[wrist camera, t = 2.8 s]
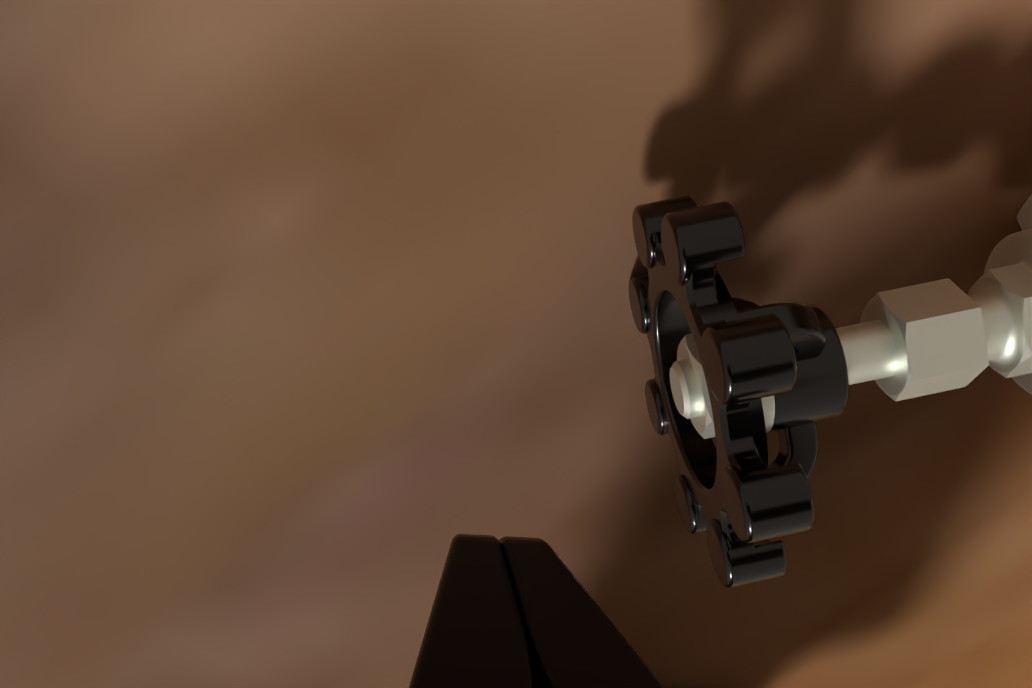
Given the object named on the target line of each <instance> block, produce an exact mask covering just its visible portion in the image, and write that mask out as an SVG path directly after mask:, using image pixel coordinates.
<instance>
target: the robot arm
mask: <svg viewBox="0 0 1032 688" xmlns="http://www.w3.org/2000/svg"><path fill="white" fill-rule="evenodd" d="M409 688H664V687H663V685H662V684H661V683H660V682H659V680H658V679H657V678H656V677H655V675H654V674H653V673H652V672H651V670H650V669H649V668H648V667H647V666H646V664H645V663H644V662H643V661H642V659H641V658H640V657H639V656H638V654H637V653H636V652H635V651H634V649H633V648H632V647H631V646H630V645H629V643H628V642H627V641H626V640H625V638H624V637H623V636H622V635H621V633H620V632H619V631H618V630H617V628H616V627H615V626H614V625H613V623H612V622H611V621H610V620H609V619H608V617H607V616H606V615H605V614H604V612H603V611H602V610H601V609H600V607H599V606H598V605H597V604H596V602H595V601H594V600H593V599H592V598H591V596H590V595H589V594H588V593H587V591H586V590H585V589H584V588H583V586H582V585H581V584H580V583H579V581H578V580H577V579H576V578H575V576H574V575H573V574H572V573H571V572H570V570H569V569H568V568H567V567H566V565H565V564H564V563H563V562H562V560H561V559H560V558H559V557H558V555H557V554H556V553H555V552H554V551H553V549H552V548H551V547H550V546H549V545H548V543H546V542H545V541H544V540H542V539H539V538H527V537H509V536H507V537H503V538H501V539H500V540H498V539H497V538H495V537H494V536H490V535H470V534H458V535H456V536H455V537H454V538H453V540H452V542H451V545H450V549H449V552H448V556H447V559H446V562H445V566H444V569H443V573H442V576H441V580H440V583H439V586H438V590H437V593H436V597H435V600H434V604H433V607H432V610H431V614H430V617H429V621H428V624H427V627H426V631H425V634H424V638H423V641H422V645H421V648H420V651H419V655H418V658H417V662H416V665H415V668H414V672H413V675H412V679H411V682H410V686H409Z"/></svg>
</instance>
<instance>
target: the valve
mask: <svg viewBox="0 0 1032 688" xmlns="http://www.w3.org/2000/svg"><path fill="white" fill-rule="evenodd" d="M1016 217H1017V221H1018V223H1019V225H1020V227H1021V229H1022V231H1019V232H1016V233H1012V234H1010V235H1008V236H1007V237H1005V238H1003V239H1002V240H1001V241H1000V242H999V243H998V244H997V245H996V246H995V248H994V249H993V251H992V252H991V254H990V255H989V258H988V260H987V263H986V265H985V269H984V273H983V276H981V277H980V278H979V279H978V280H977V281H976V282H975V283H974V284H973V286H972V287H971V289H970V290H969V292H968V294H966V293H964V292H963V291H962V290H961V289H960V288H959V287H958V286H957V285H956V284H955V283H953V282H952V281H951V280H950V279H949V278H946V279H941V280H936V281H931V282H926V283H922V284H917V285H912V286H907V287H902V288H897V289H892V290H887V291H883V292H878V293H877V294H876V295H875V296H874V297H873V298H872V299H871V300H870V301H869V302H868V303H867V304H866V306H865V307H864V309H863V311H862V315H861V321H860V323H859V324H854V325H849V326H844V327H839V328H835V327H834V325H833V323H832V322H831V320H830V319H829V317H828V316H827V314H826V313H825V312H824V311H823V310H822V309H821V308H819V307H817V306H815V305H811V304H807V305H801V304H797V303H777V304H769V305H763V306H759V305H757V304H755V303H753V302H750V301H746V300H743V299H738V298H732V297H731V296H730V294H729V292H728V290H727V288H726V286H725V284H724V282H723V280H722V278H721V277H720V275H719V273H718V272H717V270H716V263H717V262H722V261H727V260H732V259H737V258H742V257H744V256H745V241H744V235H743V230H742V226H741V223H740V220H739V217H738V215H737V213H736V211H735V209H734V208H733V206H732V205H731V204H729V203H728V202H720V203H715V204H710V205H705V206H700V207H697V205H696V203H695V201H694V200H693V199H692V198H691V197H690V196H683V197H677V198H672V199H667V200H662V201H657V202H652V203H647V204H642V205H638V206H636V207H635V209H634V211H633V232H634V238H635V243H636V248H637V251H638V255H639V257H640V260H641V262H642V264H643V265H644V266H645V267H646V268H648V274H646V275H641V276H636V277H633V278H631V280H630V282H629V298H630V305H631V310H632V314H633V318H634V321H635V324H636V326H637V328H638V330H639V331H640V332H641V333H643V334H647V336H648V339H649V343H650V347H651V352H652V358H653V364H654V370H655V379H651V380H648V381H647V382H646V385H645V395H646V403H647V408H648V412H649V416H650V419H651V422H652V425H653V427H654V429H655V431H656V432H657V433H658V434H660V435H664V434H670V437H671V440H672V444H673V447H674V450H675V453H676V456H677V460H678V465H679V470H680V474H679V475H677V477H676V478H675V494H676V500H677V504H678V509H679V512H680V515H681V518H682V521H683V524H684V526H685V528H686V529H687V531H688V532H689V533H691V534H696V533H701V532H706V531H707V541H708V547H709V551H710V555H711V559H712V562H713V565H714V568H715V571H716V573H717V576H718V578H719V579H720V581H721V583H722V584H723V585H724V586H726V587H729V588H731V587H736V586H741V585H745V584H750V583H754V582H759V581H763V580H768V579H773V578H777V577H782V576H783V575H784V574H785V572H786V569H787V557H786V551H785V546H784V542H783V541H781V540H779V541H775V542H771V541H769V540H767V539H772V538H776V537H781V536H785V535H790V534H795V533H799V532H804V531H808V530H810V529H811V528H812V526H813V523H814V502H813V497H812V493H811V489H810V486H809V483H808V480H807V479H808V477H809V475H810V473H811V472H812V470H813V468H814V465H815V462H816V458H817V452H818V434H817V428H816V422H820V421H825V420H829V419H834V418H837V417H839V416H840V415H841V414H842V413H843V411H844V409H845V407H846V404H847V400H848V394H849V385H852V384H857V383H861V382H866V381H871V380H875V382H876V383H877V385H878V386H879V387H880V388H881V389H882V390H883V391H884V392H885V393H886V394H887V395H888V396H889V397H891V398H892V399H893V400H894V401H901V400H906V399H910V398H915V397H920V396H924V395H929V394H934V393H939V392H943V391H948V390H953V389H958V388H962V387H966V386H967V385H968V384H969V383H970V382H971V381H972V380H973V379H975V378H976V377H977V376H978V375H979V374H980V373H981V372H982V371H983V370H984V369H985V368H987V367H988V366H990V367H991V368H992V369H993V370H995V371H996V372H998V373H999V374H1001V375H1002V376H1004V377H1005V378H1010V377H1011V378H1012V379H1013V380H1014V381H1015V382H1016V383H1017V384H1018V385H1019V386H1020V387H1021V388H1023V389H1024V390H1025V391H1026V392H1028V393H1030V394H1031V395H1032V194H1031V195H1030V197H1029V198H1028V199H1027V201H1026V202H1025V203H1024V205H1023V206H1022V207H1021V209H1020V210H1019V212H1018V214H1017V216H1016ZM777 430H778V435H779V441H780V449H779V453H778V455H777V457H776V459H775V460H774V462H773V463H772V464H770V465H769V466H768V451H767V437H766V433H767V432H773V431H777ZM712 437H716V448H715V445H714V443H713V441H712Z"/></svg>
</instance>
